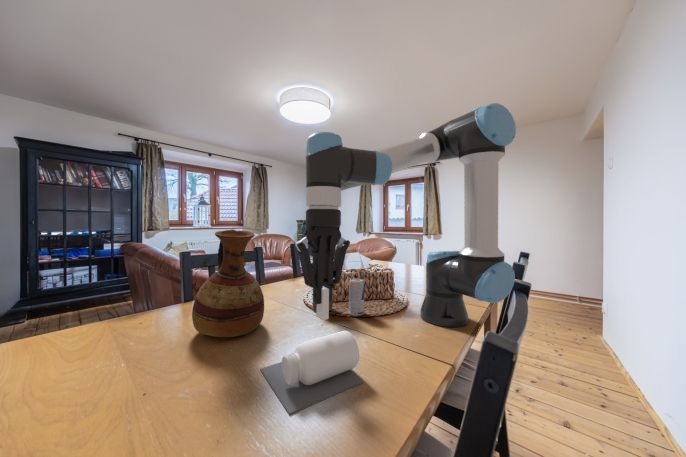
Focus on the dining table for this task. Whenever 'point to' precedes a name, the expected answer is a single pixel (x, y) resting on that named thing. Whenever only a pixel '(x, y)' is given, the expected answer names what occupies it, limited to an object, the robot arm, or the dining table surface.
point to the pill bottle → (321, 358)
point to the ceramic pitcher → (229, 292)
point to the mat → (306, 388)
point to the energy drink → (356, 297)
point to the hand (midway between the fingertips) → (322, 317)
